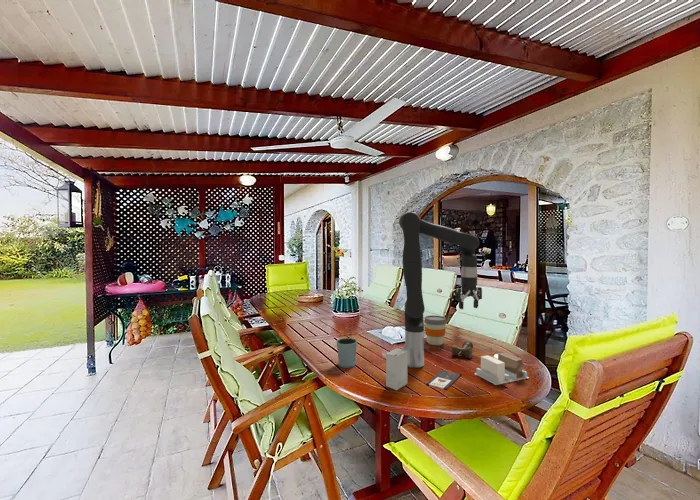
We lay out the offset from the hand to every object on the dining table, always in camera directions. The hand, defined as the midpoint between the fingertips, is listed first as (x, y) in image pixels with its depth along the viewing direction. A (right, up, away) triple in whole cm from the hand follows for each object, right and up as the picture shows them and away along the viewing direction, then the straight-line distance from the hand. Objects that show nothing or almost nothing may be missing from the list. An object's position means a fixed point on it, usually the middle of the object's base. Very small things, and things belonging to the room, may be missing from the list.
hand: (468, 308), depth 172 cm
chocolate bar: (-17, -29, -18) cm, 38 cm away
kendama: (+2, -28, +15) cm, 31 cm away
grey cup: (-60, -29, +2) cm, 67 cm away
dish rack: (+9, -28, -16) cm, 34 cm away
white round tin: (+18, -28, +1) cm, 33 cm away
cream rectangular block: (+4, -28, -18) cm, 33 cm away
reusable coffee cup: (-8, -27, +35) cm, 45 cm away
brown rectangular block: (+14, -27, -14) cm, 34 cm away
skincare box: (-39, -29, -23) cm, 54 cm away
